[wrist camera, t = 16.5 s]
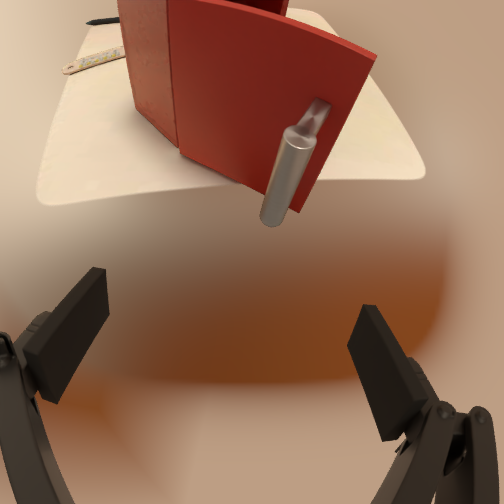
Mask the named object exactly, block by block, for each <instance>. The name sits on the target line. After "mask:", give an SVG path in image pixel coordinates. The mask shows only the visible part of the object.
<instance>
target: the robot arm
mask: <svg viewBox="0 0 504 504" xmlns="http://www.w3.org/2000/svg"><path fill="white" fill-rule="evenodd" d="M108 316H109V304H108V293H107V281H106V269H101V268H96V267H92V268H91V269H90V270H89V272H87V274H86V275H85V276H84V277H83V278H82V279H81V280H80V281H79V282H78V283H77V284H76V286H75V287H74V288H73V289H72V290H71V291H70V292H69V293H68V294H67V295H66V297H65V298H64V299H63V300H62V301H61V302H60V303H59V305H58V306H57V307H56V308H55V309H54V310H53V312H52V313H51V312H48V311H45V312H43V313H41V314H40V315H38V316H36V318H35V319H34V320H33V321H32V322H31V325H29V326H28V327H27V328H26V330H24V331H23V333H22V334H21V335H20V336H19V338H18V339H17V340H16V341H15V342H14V344H12V341H11V338H10V336H9V335H8V334H7V333H5V332H0V446H1V451H2V455H3V459H4V463H5V467H6V470H7V474H8V477H9V481H10V484H11V487H12V490H13V493H14V496H15V499H16V502H17V504H75V503H74V501H73V499H72V497H71V495H70V492H69V490H68V488H67V486H66V484H65V481H64V479H63V477H62V474H61V472H60V470H59V467H58V465H57V462H56V460H55V457H54V454H53V452H52V449H51V446H50V443H49V441H48V438H47V435H46V432H45V429H44V425H43V422H42V419H41V416H40V412H39V409H38V405H37V401H36V399H35V397H34V395H35V394H36V392H37V390H38V391H39V393H40V395H41V397H42V399H44V400H47V401H49V402H52V403H55V404H58V402H59V400H60V398H61V396H62V394H63V392H64V391H65V389H66V387H67V385H68V383H69V382H70V380H71V378H72V376H73V374H74V373H75V371H76V369H77V367H78V366H79V364H80V362H81V361H82V359H83V357H84V355H85V354H86V352H87V350H88V349H89V347H90V345H91V344H92V342H93V340H94V338H95V337H96V335H97V334H98V332H99V330H100V329H101V327H102V326H103V324H104V322H105V321H106V319H107V318H108ZM347 347H348V349H349V352H350V354H351V357H352V360H353V362H354V365H355V367H356V370H357V373H358V375H359V378H360V381H361V383H362V386H363V389H364V391H365V394H366V397H367V400H368V402H369V405H370V408H371V411H372V414H373V416H374V419H375V422H376V425H377V428H378V431H379V434H380V436H381V440H382V442H384V441H392V440H397V439H398V438H399V437H400V436H401V434H402V433H403V432H404V433H405V435H406V439H405V440H404V441H403V442H402V444H401V445H400V446H399V447H398V448H397V449H396V451H395V452H396V453H397V452H398V451H399V452H398V454H397V456H396V458H395V460H394V462H393V464H392V466H391V468H390V470H389V472H388V474H387V476H386V477H385V479H384V481H383V483H382V485H381V487H380V488H379V490H378V492H377V494H376V496H375V497H374V499H373V500H372V502H371V504H431V502H432V499H433V497H434V494H435V492H436V496H435V503H434V504H499V475H498V461H497V451H496V442H495V435H494V428H493V421H492V417H491V415H490V413H489V412H488V411H487V410H486V409H485V408H483V407H480V406H475V407H473V408H472V409H471V411H470V412H469V413H468V414H465V413H459V412H456V410H455V409H454V407H453V406H452V405H451V404H449V403H448V402H445V401H440V400H439V398H438V397H437V395H436V393H435V391H434V389H433V388H432V386H431V384H430V382H429V381H428V380H427V377H426V375H425V374H424V372H423V370H422V368H421V367H420V365H419V364H418V363H417V362H416V361H415V360H414V359H413V358H411V357H406V355H405V353H404V352H403V350H402V348H401V346H400V345H399V343H398V341H397V340H396V338H395V336H394V335H393V333H392V331H391V330H390V328H389V326H388V325H387V323H386V321H385V320H384V318H383V316H382V315H381V313H380V311H379V310H378V308H377V307H376V305H365V304H363V306H362V309H361V311H360V314H359V317H358V320H357V322H356V325H355V327H354V329H353V332H352V335H351V337H350V340H349V342H348V344H347Z"/></svg>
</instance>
